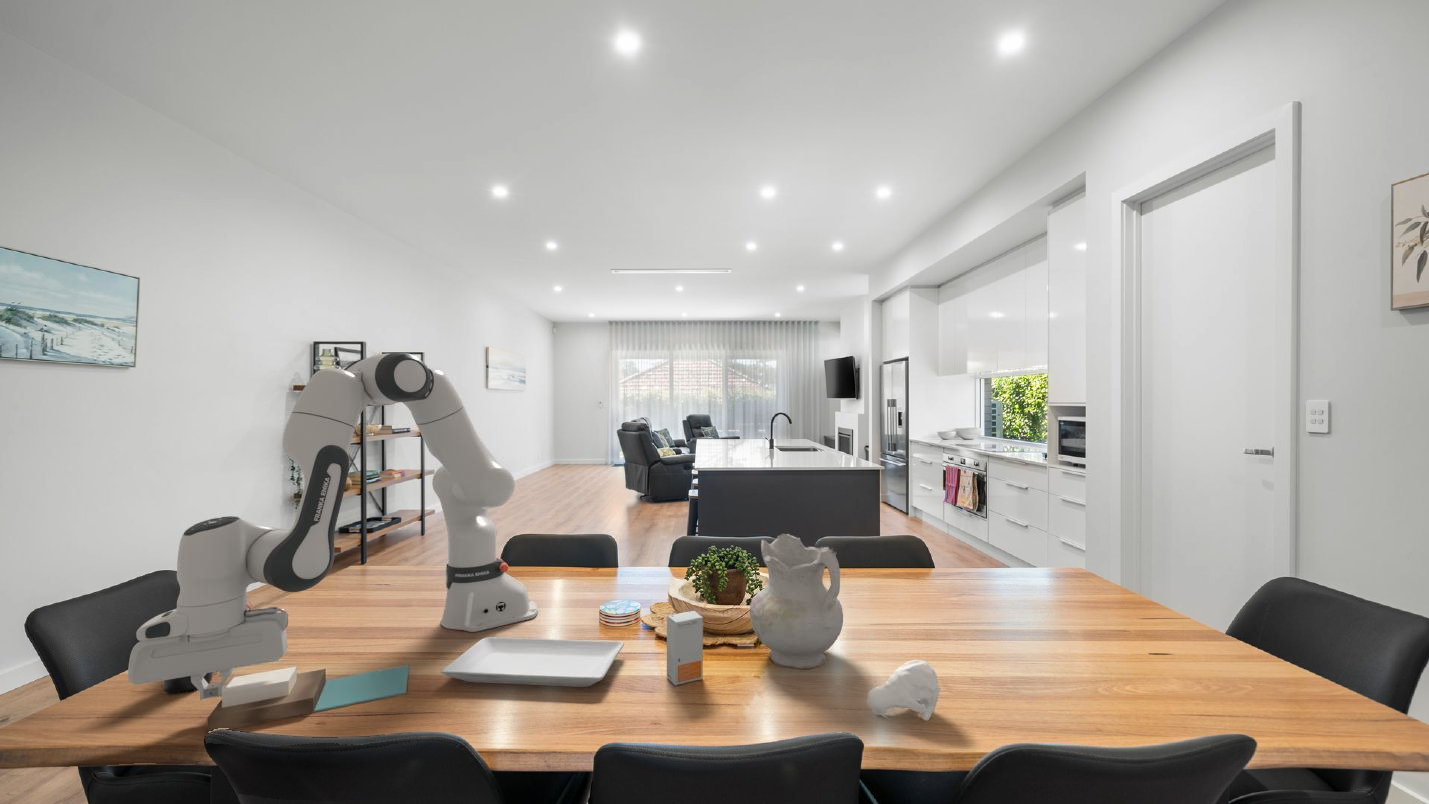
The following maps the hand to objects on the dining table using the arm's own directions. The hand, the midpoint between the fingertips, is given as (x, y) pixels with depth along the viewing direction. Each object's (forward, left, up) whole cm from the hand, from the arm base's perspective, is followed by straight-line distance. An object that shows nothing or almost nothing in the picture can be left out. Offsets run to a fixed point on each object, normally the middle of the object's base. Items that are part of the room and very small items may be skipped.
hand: (212, 696), depth 95 cm
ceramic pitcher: (-102, +27, -4) cm, 106 cm away
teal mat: (-22, 0, -3) cm, 22 cm away
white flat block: (-7, 0, -1) cm, 7 cm away
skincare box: (-77, +24, -4) cm, 81 cm away
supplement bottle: (+8, -16, -4) cm, 18 cm away
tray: (-52, +8, -4) cm, 53 cm away
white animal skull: (-105, +52, -4) cm, 117 cm away
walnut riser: (-8, 0, -3) cm, 9 cm away
